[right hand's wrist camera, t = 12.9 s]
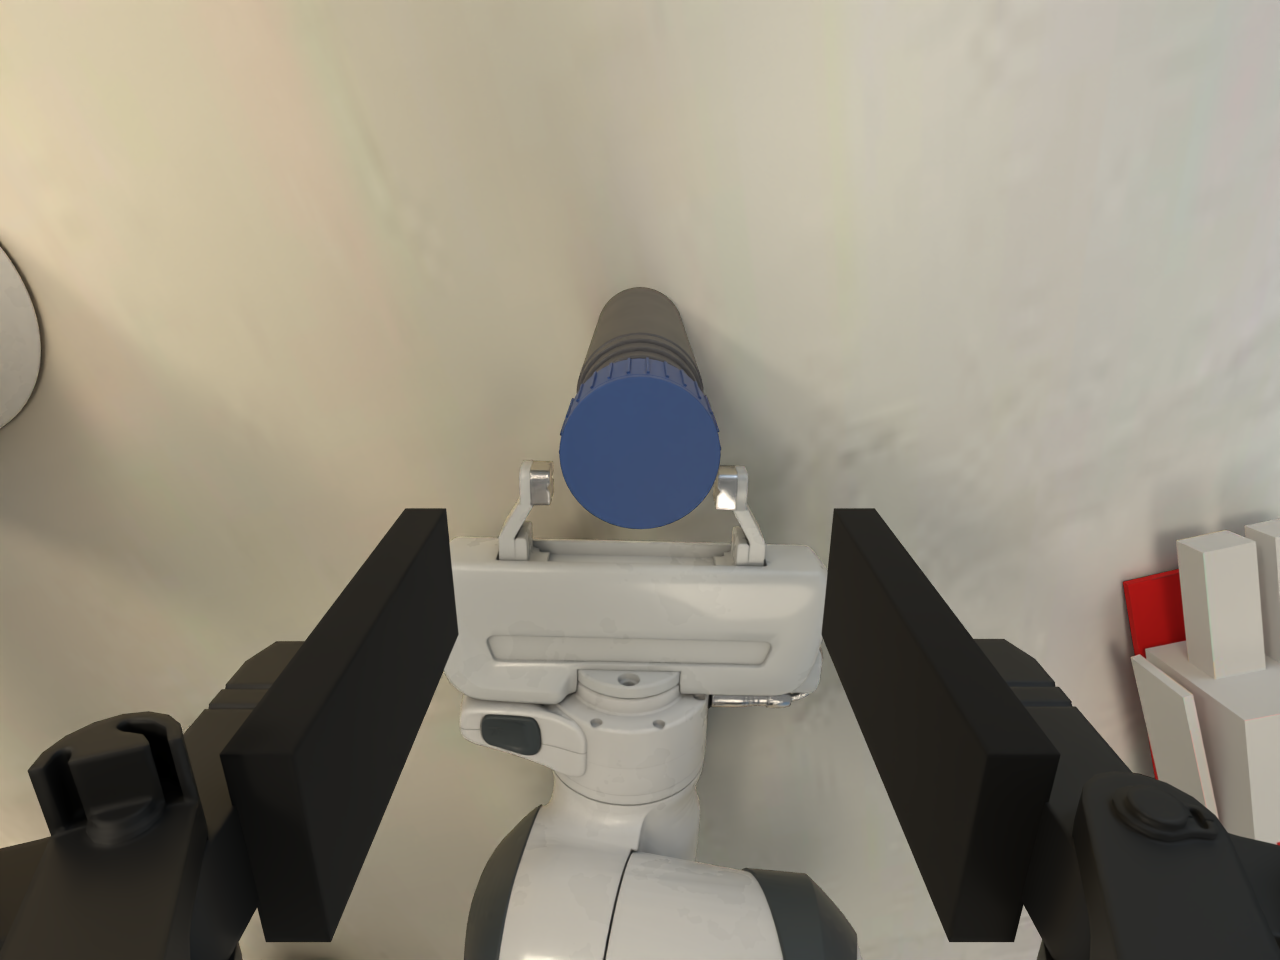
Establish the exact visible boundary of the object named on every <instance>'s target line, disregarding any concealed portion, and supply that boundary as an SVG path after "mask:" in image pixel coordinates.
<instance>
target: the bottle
mask: <svg viewBox="0 0 1280 960" xmlns="http://www.w3.org/2000/svg"><path fill="white" fill-rule="evenodd" d="M646 357H647V358H649V359H652V360H658V361H661V362H664V361H666V362H667V364H670V365H672V366H674V367H676V368H678V369H679V370H681V369H682V370H683V371H684V373H685V374H686V375H687V376H689V377H690V378H691V379H692V380H693V381H696V382H697V384H698V387H699V388H700V390H701V391H702V393H703V384H702V379H701V376H700V373H699V370H698V367H697V364H696V361H695V358H694V355H693V352H692V349H691V347H690V344H689V341H688V338H687V335H686V332H685V329H684V326H683V323H682V320H681V317H680V314H679V312H678V310H677V308H676V307H675V305H674V304H673V303H672V301H671V300H670V299H669V298H667V297H666V296H665V295H663V294H662V293H660V292H658V291H656V290H653V289H650V288H642V287H637V288H631V289H627V290H624V291H622V292H620V293H618V294H617V295H615V296H614V297H613V298H611V299H610V300H609V301H608V303H607V304H606V305H605V307H604V308H603V310H602V312H601V314H600V317H599V320H598V323H597V326H596V329H595V332H594V335H593V337H592V340H591V343H590V346H589V349H588V352H587V355H586V358H585V361H584V364H583V367H582V370H581V373H580V376H579V379H578V384H577V393H578V391H579V389H580V386H581V384H582V383H583V384H584V383H585V382H586V381H587V380H588V379H589V378H590V377H591V376H592V375H593V374H594V372H595V371H596V372H598V371H599V370H601V369H602V368H604V367H606V366H608V365H610V363H616V362H619V361H623V360H627V359H628V358H630V359H637V358H642V359H646Z"/></svg>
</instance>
